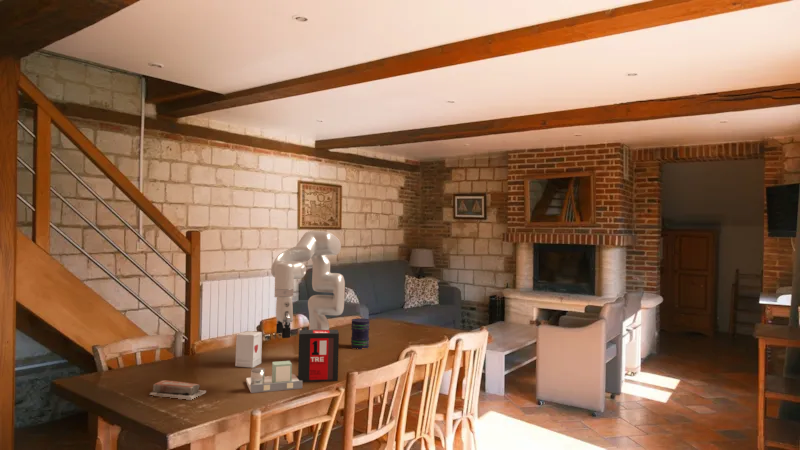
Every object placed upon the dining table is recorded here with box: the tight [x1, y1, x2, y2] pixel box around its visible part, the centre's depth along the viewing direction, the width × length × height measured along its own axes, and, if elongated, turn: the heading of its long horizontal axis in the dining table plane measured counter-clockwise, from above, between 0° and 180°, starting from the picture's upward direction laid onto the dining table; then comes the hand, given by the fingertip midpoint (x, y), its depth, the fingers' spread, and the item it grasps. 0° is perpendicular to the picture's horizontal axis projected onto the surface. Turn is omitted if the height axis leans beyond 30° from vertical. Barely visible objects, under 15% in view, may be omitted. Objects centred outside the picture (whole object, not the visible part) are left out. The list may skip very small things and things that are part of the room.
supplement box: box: [234, 330, 263, 369], centre depth 247 cm, size 9×9×15 cm
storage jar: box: [350, 317, 370, 350], centre depth 290 cm, size 10×10×15 cm
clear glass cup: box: [250, 367, 266, 385], centre depth 210 cm, size 5×5×6 cm
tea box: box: [271, 360, 293, 383], centre depth 215 cm, size 7×6×8 cm
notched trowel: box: [149, 379, 207, 401], centre depth 202 cm, size 18×5×10 cm
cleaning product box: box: [297, 329, 340, 383], centre depth 227 cm, size 16×9×20 cm, turn 100°
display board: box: [245, 373, 304, 394], centre depth 217 cm, size 20×17×3 cm
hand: (283, 335), depth 216 cm, fingers open, 9 cm apart
